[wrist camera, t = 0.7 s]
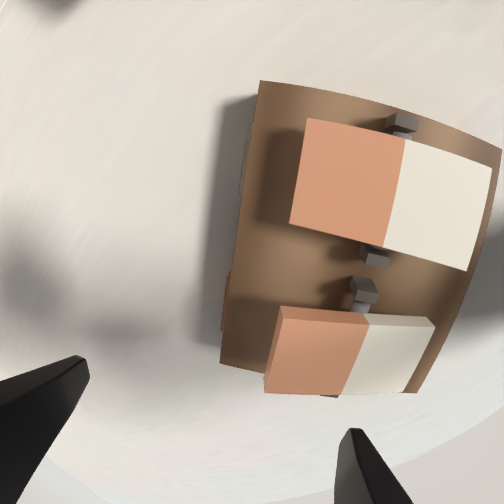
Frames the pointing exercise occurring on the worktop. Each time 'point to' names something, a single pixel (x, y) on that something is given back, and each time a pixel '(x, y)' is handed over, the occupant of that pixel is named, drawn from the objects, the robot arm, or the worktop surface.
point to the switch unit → (325, 244)
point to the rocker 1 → (390, 192)
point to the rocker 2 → (344, 351)
